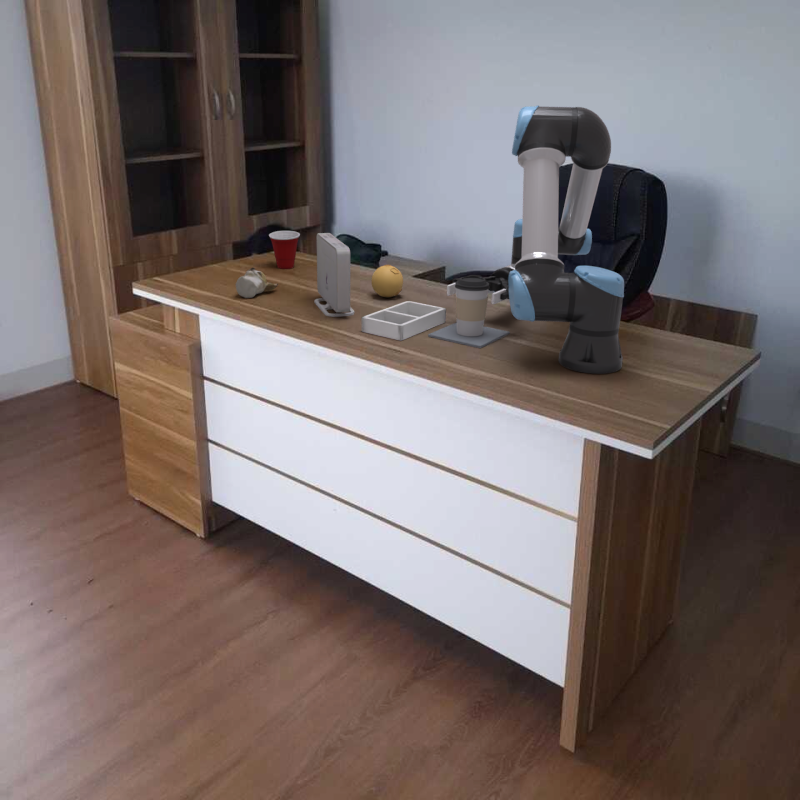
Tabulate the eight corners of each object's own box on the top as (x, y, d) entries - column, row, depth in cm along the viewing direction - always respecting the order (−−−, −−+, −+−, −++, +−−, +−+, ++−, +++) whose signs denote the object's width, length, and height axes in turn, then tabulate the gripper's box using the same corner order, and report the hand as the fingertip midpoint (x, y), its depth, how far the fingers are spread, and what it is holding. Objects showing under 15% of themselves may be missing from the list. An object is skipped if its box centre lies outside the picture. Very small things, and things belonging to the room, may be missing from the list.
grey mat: (509, 333, 222) (509, 331, 222) (480, 348, 210) (480, 346, 210) (458, 323, 230) (459, 321, 230) (427, 336, 218) (428, 334, 218)
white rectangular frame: (445, 322, 231) (446, 308, 230) (401, 340, 214) (401, 326, 213) (407, 314, 238) (407, 300, 236) (361, 331, 221) (361, 317, 220)
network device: (310, 297, 253) (309, 232, 245) (337, 296, 255) (337, 231, 248) (329, 320, 230) (328, 249, 223) (359, 318, 233) (360, 248, 225)
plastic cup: (265, 269, 287) (264, 235, 282) (275, 263, 297) (274, 230, 292) (295, 271, 285) (295, 237, 281) (304, 265, 295) (303, 231, 291)
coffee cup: (484, 338, 215) (488, 282, 210) (450, 336, 217) (453, 280, 211) (488, 329, 223) (491, 275, 218) (455, 327, 225) (457, 273, 220)
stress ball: (392, 302, 250) (393, 270, 246) (365, 297, 254) (365, 265, 250) (408, 295, 258) (409, 264, 254) (381, 291, 262) (382, 260, 258)
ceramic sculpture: (226, 269, 248) (250, 262, 261) (226, 297, 250) (250, 289, 264) (257, 273, 244) (280, 266, 258) (257, 301, 247) (280, 293, 261)
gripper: (546, 300, 227) (511, 316, 211) (468, 286, 240) (429, 300, 224) (549, 273, 224) (513, 288, 208) (470, 260, 237) (430, 273, 221)
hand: (470, 294), depth 216 cm, fingers open, 13 cm apart
